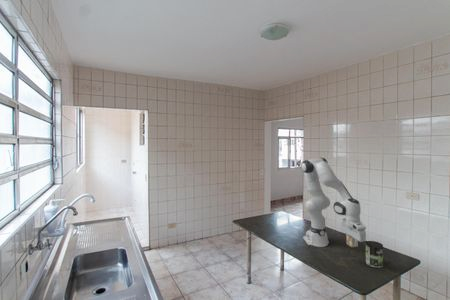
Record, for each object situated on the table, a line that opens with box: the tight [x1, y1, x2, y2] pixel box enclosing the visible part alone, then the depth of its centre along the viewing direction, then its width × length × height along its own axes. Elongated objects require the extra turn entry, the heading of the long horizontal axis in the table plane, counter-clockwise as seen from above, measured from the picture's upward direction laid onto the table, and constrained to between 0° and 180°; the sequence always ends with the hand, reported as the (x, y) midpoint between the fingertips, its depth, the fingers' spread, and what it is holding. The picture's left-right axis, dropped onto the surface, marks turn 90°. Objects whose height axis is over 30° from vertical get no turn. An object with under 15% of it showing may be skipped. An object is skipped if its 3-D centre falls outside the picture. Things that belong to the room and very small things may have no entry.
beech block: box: [345, 235, 359, 248], centre depth 164 cm, size 5×5×6 cm
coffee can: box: [365, 240, 384, 268], centre depth 164 cm, size 10×10×14 cm
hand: (352, 242), depth 164 cm, fingers closed on beech block, 5 cm apart
